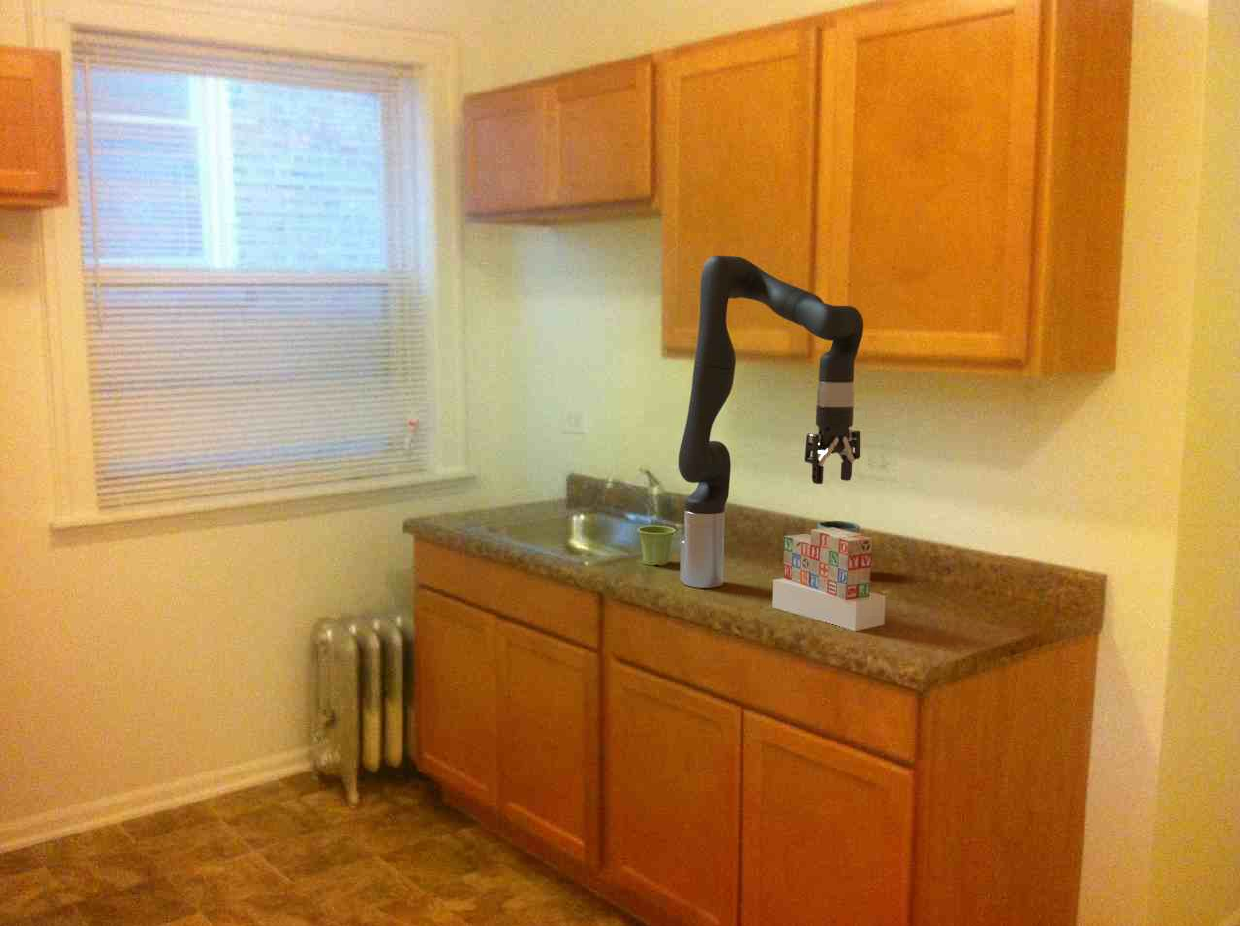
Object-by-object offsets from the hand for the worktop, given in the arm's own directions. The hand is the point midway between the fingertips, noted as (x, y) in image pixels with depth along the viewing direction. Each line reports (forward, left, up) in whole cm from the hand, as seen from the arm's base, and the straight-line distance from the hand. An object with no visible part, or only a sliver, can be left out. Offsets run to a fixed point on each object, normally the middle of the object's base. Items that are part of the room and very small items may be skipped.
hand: (831, 481), depth 242 cm
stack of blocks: (0, 0, -23) cm, 23 cm away
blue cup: (-26, +32, -29) cm, 50 cm away
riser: (0, 0, -28) cm, 28 cm away
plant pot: (-59, +2, -29) cm, 65 cm away
